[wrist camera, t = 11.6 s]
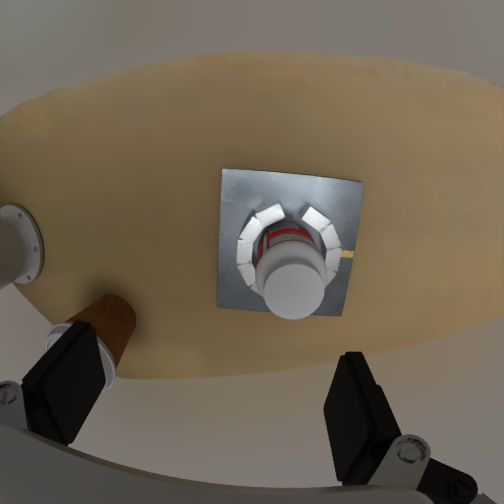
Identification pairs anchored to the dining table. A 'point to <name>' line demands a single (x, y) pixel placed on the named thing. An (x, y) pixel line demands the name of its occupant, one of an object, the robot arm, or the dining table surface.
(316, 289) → the pill bottle
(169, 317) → the dining table surface
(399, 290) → the dining table surface
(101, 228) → the dining table surface
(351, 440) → the robot arm
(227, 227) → the socket plate
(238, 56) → the dining table surface
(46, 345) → the disposable coffee cup
